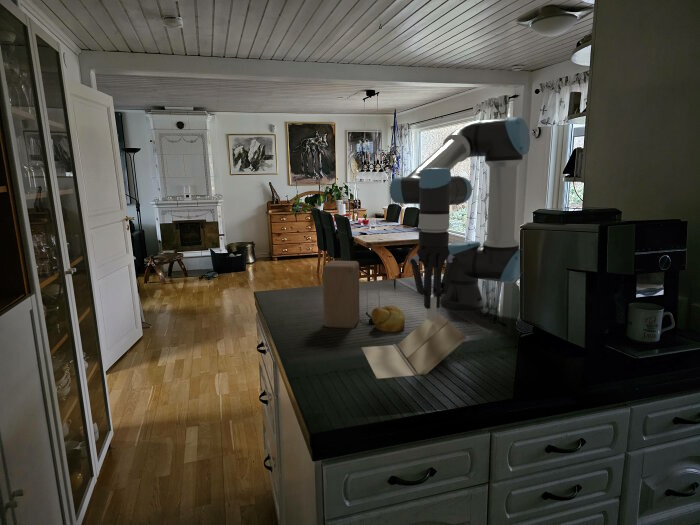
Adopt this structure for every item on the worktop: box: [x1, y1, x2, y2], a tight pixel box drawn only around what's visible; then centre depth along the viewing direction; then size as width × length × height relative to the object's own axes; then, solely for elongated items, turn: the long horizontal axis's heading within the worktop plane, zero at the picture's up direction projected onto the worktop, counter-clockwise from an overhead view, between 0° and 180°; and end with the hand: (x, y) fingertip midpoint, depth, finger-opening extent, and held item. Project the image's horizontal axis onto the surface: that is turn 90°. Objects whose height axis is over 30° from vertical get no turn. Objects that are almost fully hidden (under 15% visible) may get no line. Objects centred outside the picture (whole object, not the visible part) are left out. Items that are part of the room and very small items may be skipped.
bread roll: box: [370, 305, 406, 333], centre depth 134 cm, size 13×10×8 cm
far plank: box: [397, 311, 449, 359], centre depth 114 cm, size 14×9×1 cm
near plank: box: [407, 321, 467, 376], centre depth 105 cm, size 14×9×1 cm
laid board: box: [360, 344, 418, 380], centre depth 108 cm, size 10×19×1 cm, turn 9°
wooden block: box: [322, 260, 360, 329], centre depth 138 cm, size 10×10×20 cm
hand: (431, 319), depth 113 cm, fingers closed
